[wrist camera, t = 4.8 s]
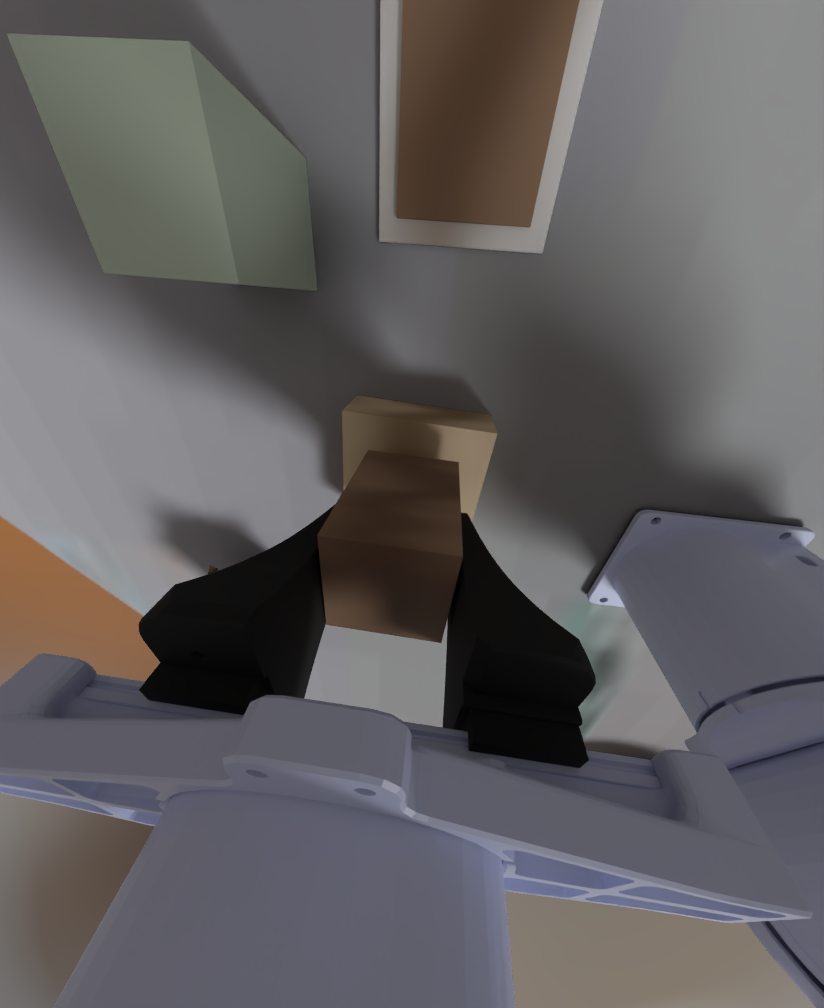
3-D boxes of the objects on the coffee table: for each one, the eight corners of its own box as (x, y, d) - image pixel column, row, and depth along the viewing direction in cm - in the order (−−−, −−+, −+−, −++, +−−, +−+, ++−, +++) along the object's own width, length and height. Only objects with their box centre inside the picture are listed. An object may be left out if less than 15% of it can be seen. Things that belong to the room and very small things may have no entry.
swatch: (614, -51, 8) (621, -66, 8) (541, 253, 12) (543, 252, 11) (382, -57, 8) (379, -70, 8) (380, 241, 12) (378, 240, 12)
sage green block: (305, 158, 11) (188, 40, 6) (317, 291, 13) (239, 284, 8) (201, 151, 11) (5, 32, 6) (230, 283, 13) (103, 273, 9)
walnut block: (458, 462, 13) (462, 556, 8) (444, 533, 15) (441, 643, 10) (368, 449, 13) (316, 535, 8) (367, 522, 15) (326, 624, 10)
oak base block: (490, 412, 16) (497, 433, 13) (462, 518, 20) (464, 549, 17) (359, 393, 16) (342, 410, 13) (357, 502, 20) (344, 530, 17)
